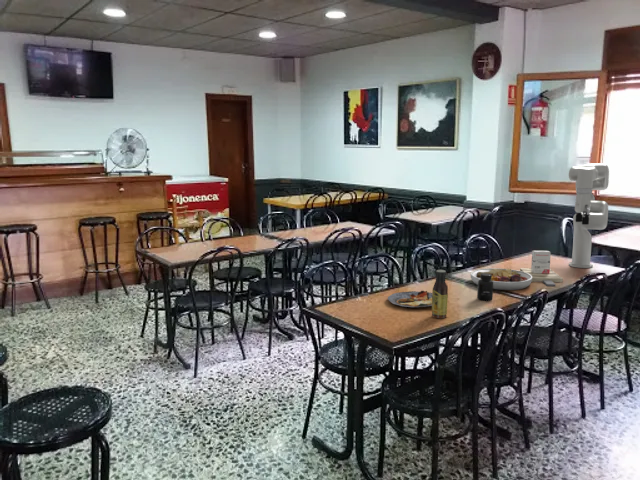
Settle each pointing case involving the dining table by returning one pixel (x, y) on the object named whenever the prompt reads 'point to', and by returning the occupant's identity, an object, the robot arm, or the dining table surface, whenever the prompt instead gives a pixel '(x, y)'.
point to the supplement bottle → (485, 288)
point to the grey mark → (549, 283)
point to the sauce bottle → (440, 295)
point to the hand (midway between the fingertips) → (581, 223)
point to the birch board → (543, 276)
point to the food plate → (412, 299)
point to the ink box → (540, 262)
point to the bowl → (504, 278)
